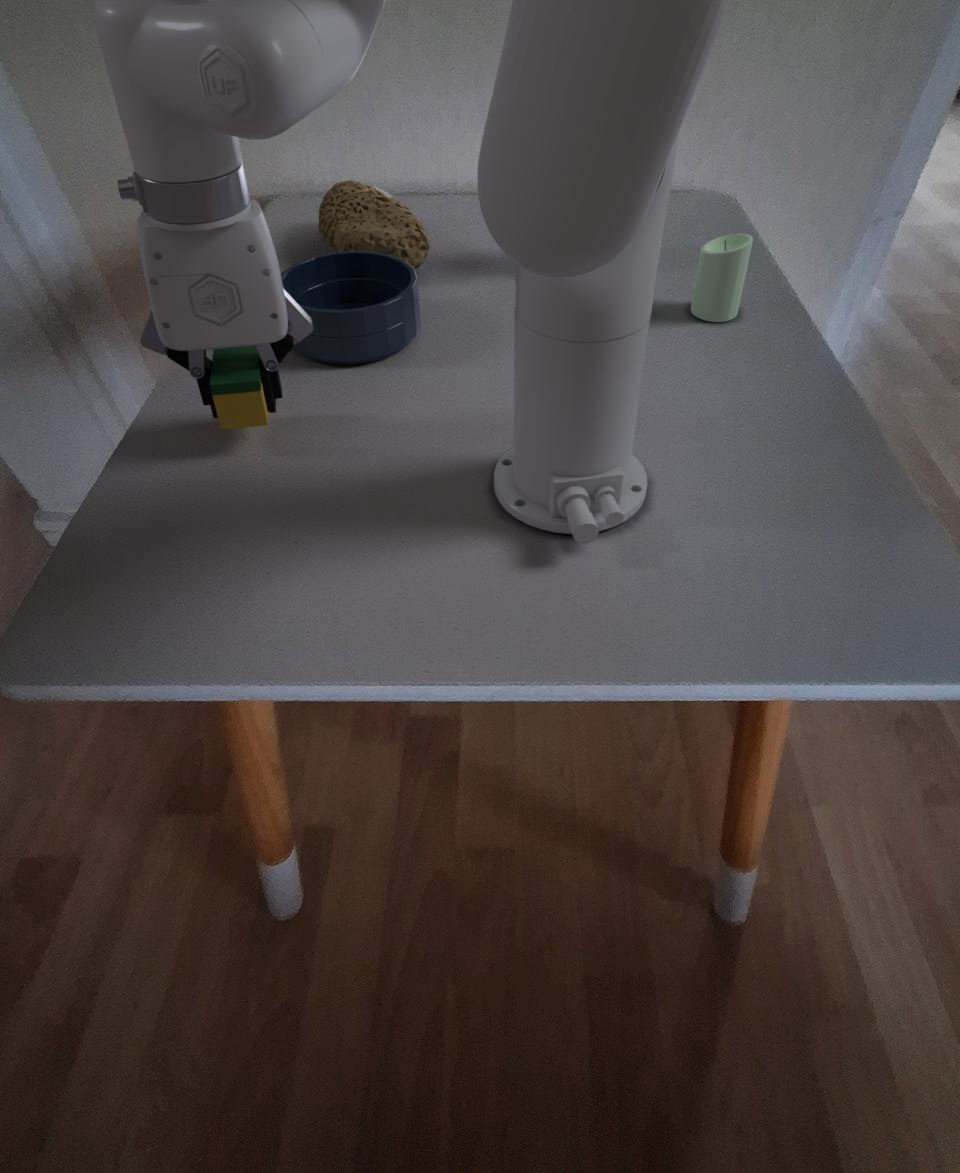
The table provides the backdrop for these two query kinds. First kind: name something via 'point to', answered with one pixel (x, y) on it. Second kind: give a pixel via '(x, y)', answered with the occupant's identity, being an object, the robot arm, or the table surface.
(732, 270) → the candle
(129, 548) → the table surface
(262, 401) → the scrub sponge
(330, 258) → the bowl
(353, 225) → the sponge
